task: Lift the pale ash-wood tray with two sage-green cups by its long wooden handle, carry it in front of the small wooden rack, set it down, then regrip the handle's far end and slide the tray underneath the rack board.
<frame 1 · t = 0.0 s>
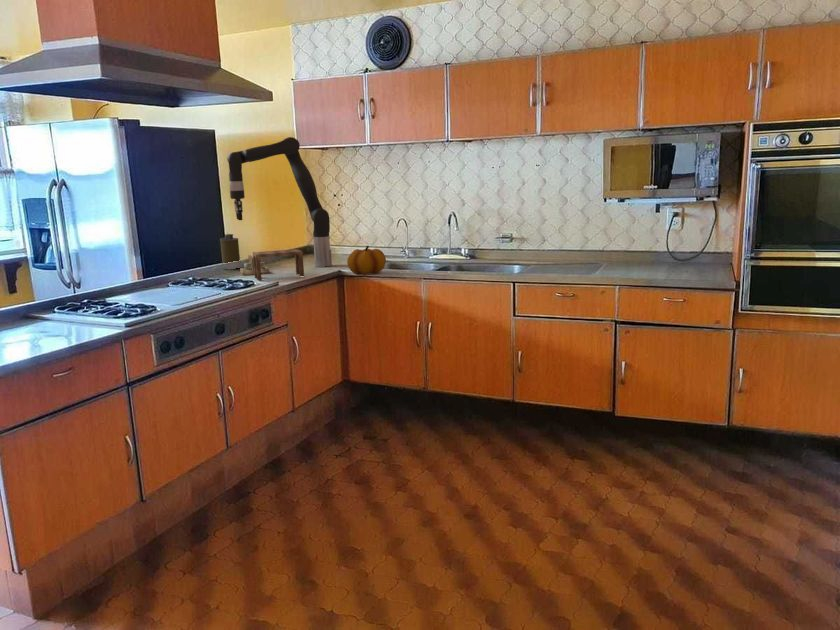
hand: (239, 219, 363), 29 cm above the counter, tool pointing down, fingers open, 8 cm apart
canister: (231, 268, 386), on the counter
tray: (254, 273, 366), on the counter
decorative pumpkin: (367, 273, 353), on the counter
wooden rack: (279, 277, 348), on the counter
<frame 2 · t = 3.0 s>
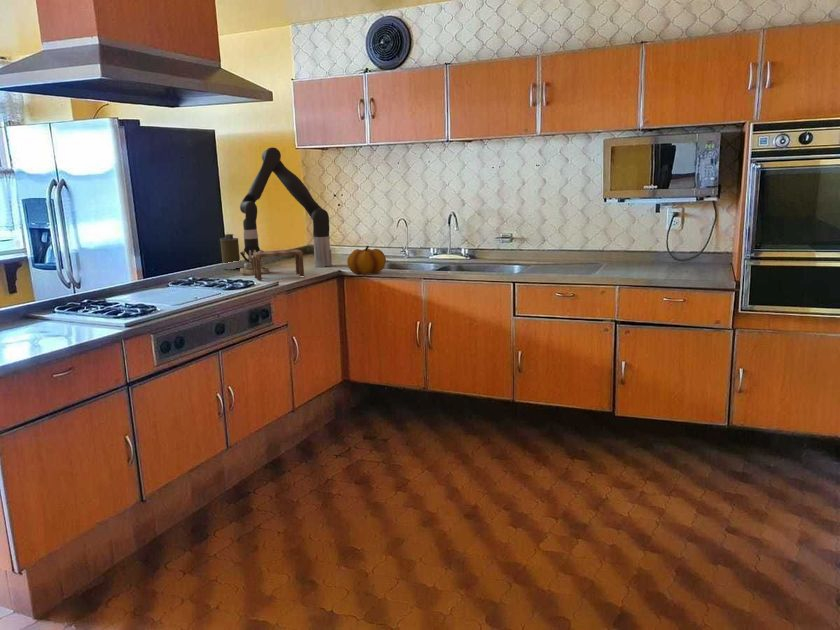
hand: (253, 268, 368), 2 cm above the counter, tool pointing down, fingers closed on tray
tray: (254, 273, 366), on the counter, touching gripper
everything else where it was.
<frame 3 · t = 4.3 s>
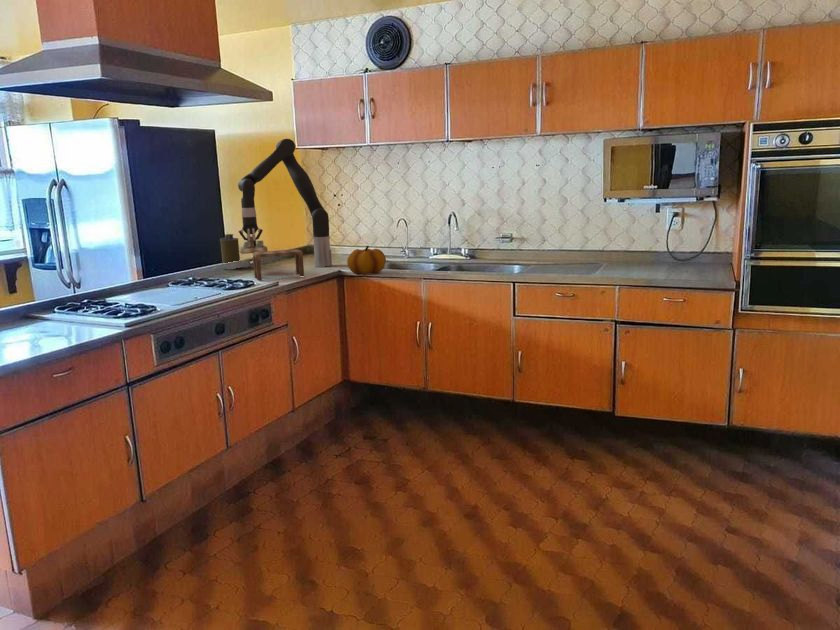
hand: (252, 247, 365), 14 cm above the counter, tool pointing down, fingers closed on tray
tray: (253, 251, 363), point 12 cm above the counter, touching gripper
everything else where it was.
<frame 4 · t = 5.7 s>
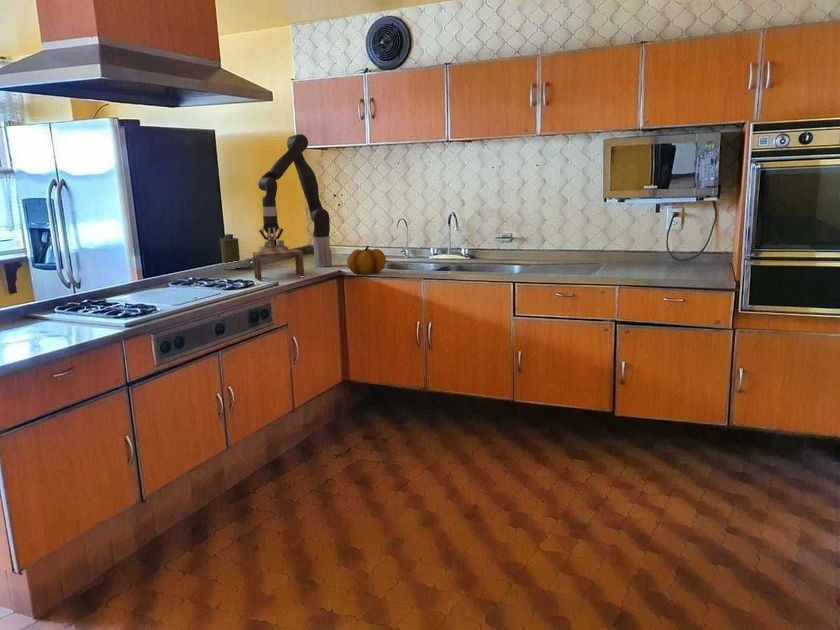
hand: (272, 246, 361), 14 cm above the counter, tool pointing down, fingers closed on tray
tray: (273, 251, 359), point 12 cm above the counter, touching gripper
everything else where it was.
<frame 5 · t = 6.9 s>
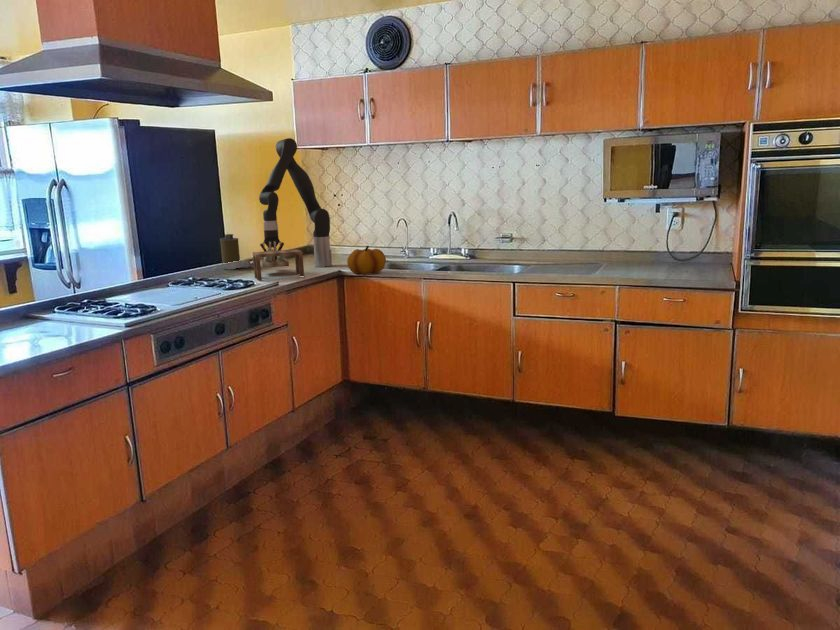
hand: (273, 260, 362), 7 cm above the counter, tool pointing down, fingers closed on tray
tray: (274, 265, 360), point 5 cm above the counter, touching gripper
everything else where it was.
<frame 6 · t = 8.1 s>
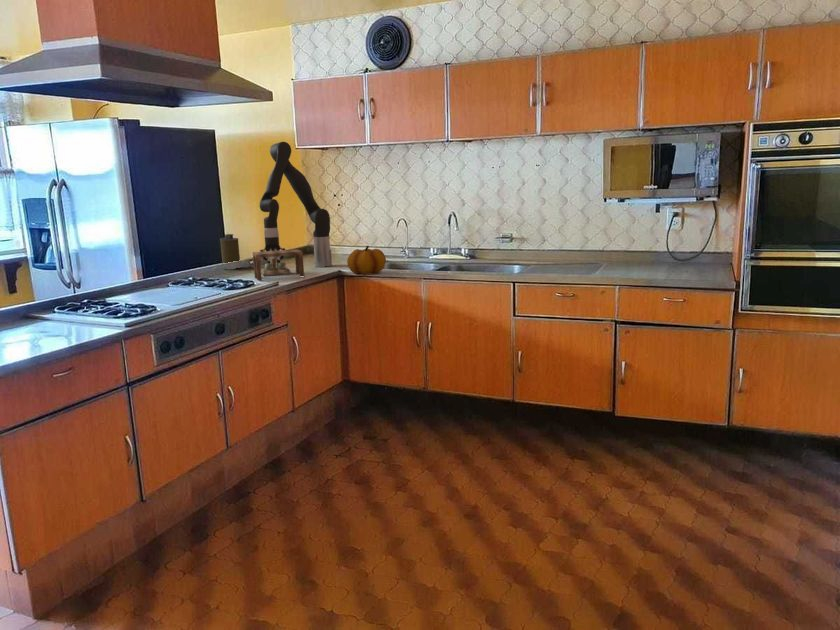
hand: (274, 267, 363), 3 cm above the counter, tool pointing down, fingers open, 4 cm apart
tray: (275, 273, 361), on the counter
everything else where it was.
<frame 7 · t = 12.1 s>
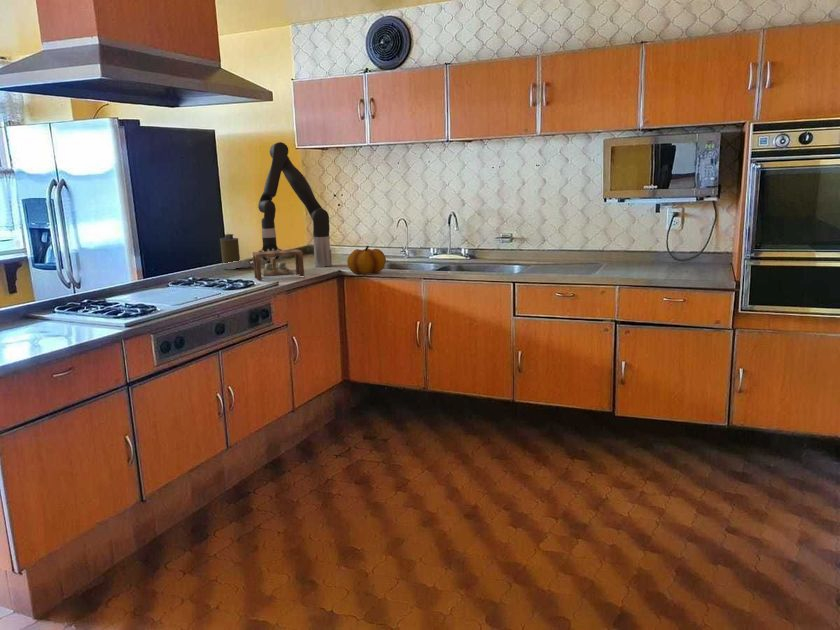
hand: (271, 267, 372), 2 cm above the counter, tool pointing down, fingers closed, pressing on tray
tray: (275, 273, 361), on the counter, touching gripper
everything else where it was.
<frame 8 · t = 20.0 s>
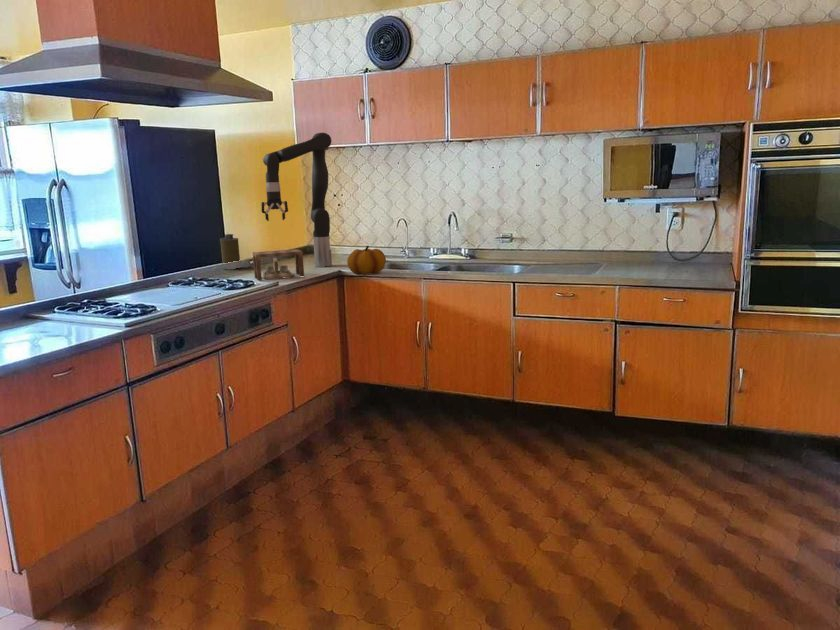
hand: (275, 220, 366), 28 cm above the counter, tool pointing down, fingers open, 8 cm apart
tray: (277, 276, 350), on the counter
everything else where it was.
at the end: tray inside the target area on the wooden rack (2.9 cm from its centre), point 0.0 cm above the wooden rack's base; tray tilted 0°; the gripper is holding nothing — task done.
